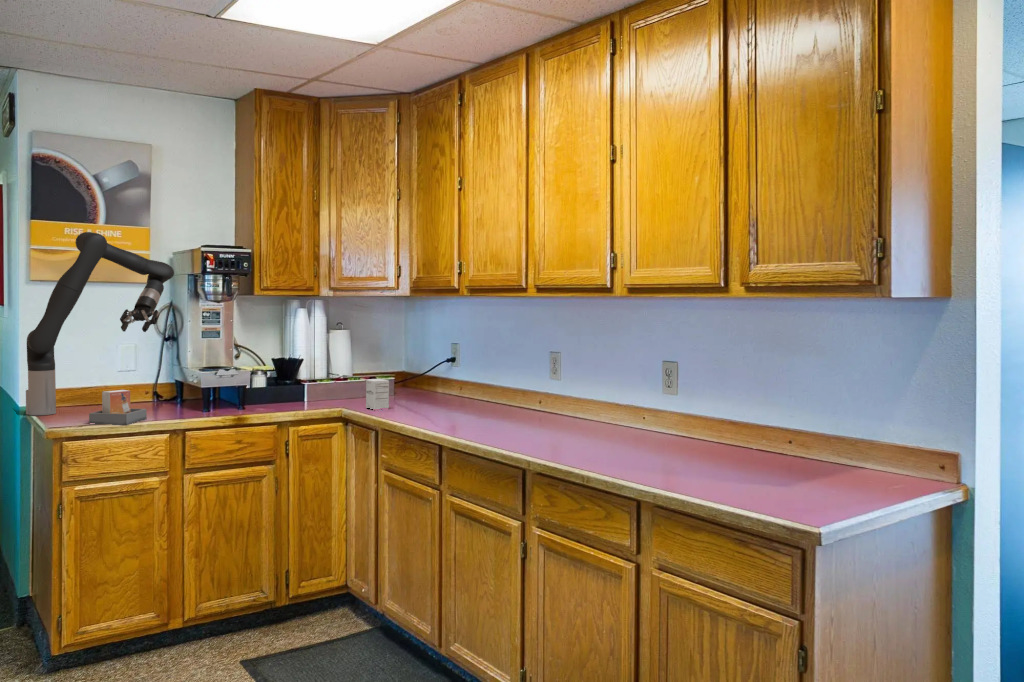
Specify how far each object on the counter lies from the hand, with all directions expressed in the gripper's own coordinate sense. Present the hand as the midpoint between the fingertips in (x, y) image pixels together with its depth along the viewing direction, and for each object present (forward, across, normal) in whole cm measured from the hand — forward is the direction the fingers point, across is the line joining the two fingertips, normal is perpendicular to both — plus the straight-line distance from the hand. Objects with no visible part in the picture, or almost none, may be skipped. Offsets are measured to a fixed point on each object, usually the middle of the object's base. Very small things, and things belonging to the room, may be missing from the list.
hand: (133, 330), depth 322 cm
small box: (+41, +7, +4) cm, 42 cm away
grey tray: (+41, +8, +5) cm, 42 cm away
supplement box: (+7, +94, +39) cm, 102 cm away
